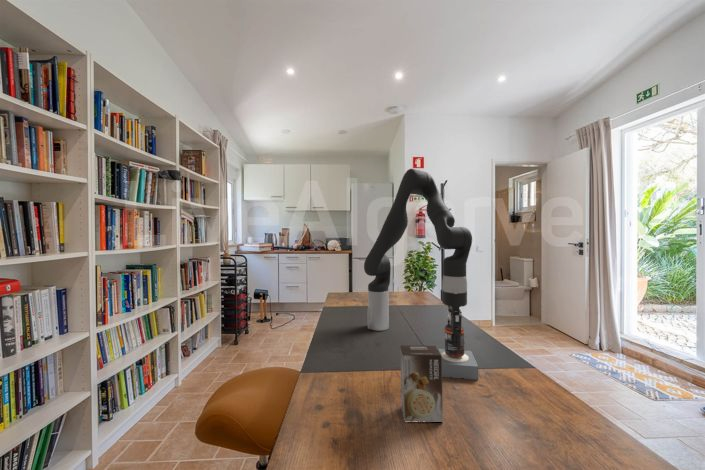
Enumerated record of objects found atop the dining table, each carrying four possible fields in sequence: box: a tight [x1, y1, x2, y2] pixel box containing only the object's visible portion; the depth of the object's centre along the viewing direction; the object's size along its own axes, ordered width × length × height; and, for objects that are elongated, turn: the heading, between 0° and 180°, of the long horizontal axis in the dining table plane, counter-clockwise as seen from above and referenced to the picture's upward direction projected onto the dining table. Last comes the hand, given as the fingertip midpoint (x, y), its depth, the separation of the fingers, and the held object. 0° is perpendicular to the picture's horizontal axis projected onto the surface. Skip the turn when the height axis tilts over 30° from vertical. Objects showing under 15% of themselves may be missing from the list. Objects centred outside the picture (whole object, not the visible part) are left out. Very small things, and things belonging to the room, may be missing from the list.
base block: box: [437, 348, 479, 381], centre depth 99 cm, size 12×12×4 cm
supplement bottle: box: [444, 317, 465, 357], centre depth 99 cm, size 6×6×11 cm
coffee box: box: [399, 344, 444, 423], centre depth 75 cm, size 9×6×16 cm
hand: (454, 341), depth 99 cm, fingers closed on supplement bottle, 6 cm apart
